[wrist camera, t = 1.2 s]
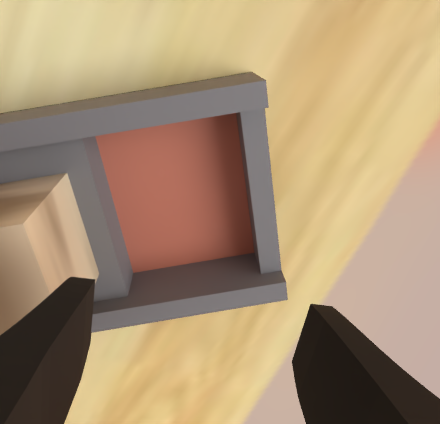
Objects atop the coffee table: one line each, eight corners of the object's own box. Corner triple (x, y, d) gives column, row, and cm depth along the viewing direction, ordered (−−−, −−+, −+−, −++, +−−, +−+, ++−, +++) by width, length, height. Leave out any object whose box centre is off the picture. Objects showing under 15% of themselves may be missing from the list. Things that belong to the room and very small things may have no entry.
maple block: (-7, 291, 19) (-68, 372, 15) (-52, 192, 17) (-140, 250, 13) (99, 273, 19) (71, 349, 15) (67, 172, 17) (22, 224, 13)
